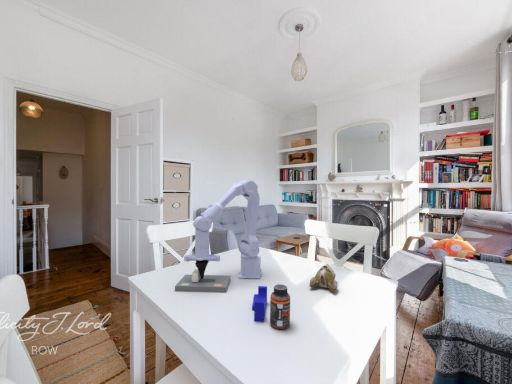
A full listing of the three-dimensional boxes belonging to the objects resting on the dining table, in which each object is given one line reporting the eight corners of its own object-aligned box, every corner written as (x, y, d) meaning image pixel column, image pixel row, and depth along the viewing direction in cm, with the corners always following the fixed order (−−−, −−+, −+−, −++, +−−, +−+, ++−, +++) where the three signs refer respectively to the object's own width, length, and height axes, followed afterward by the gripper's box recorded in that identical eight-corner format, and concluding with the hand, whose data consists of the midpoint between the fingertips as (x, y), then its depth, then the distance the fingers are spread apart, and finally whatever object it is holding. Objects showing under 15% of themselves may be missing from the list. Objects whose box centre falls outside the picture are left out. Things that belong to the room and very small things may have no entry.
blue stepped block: (254, 302, 84) (254, 285, 83) (266, 303, 83) (267, 286, 83) (249, 321, 72) (249, 302, 72) (263, 322, 71) (264, 303, 71)
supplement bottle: (284, 333, 66) (285, 293, 66) (266, 326, 69) (266, 288, 69) (293, 322, 71) (293, 285, 71) (275, 316, 74) (275, 281, 74)
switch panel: (230, 280, 103) (230, 275, 103) (225, 292, 91) (226, 287, 91) (185, 279, 103) (185, 274, 103) (175, 291, 91) (175, 285, 91)
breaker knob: (201, 277, 100) (201, 269, 99) (197, 282, 95) (197, 273, 94) (195, 277, 100) (195, 269, 100) (191, 282, 95) (191, 273, 95)
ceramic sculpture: (340, 261, 101) (336, 275, 88) (340, 281, 102) (336, 297, 89) (315, 258, 106) (307, 271, 93) (315, 277, 107) (308, 292, 93)
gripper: (181, 247, 93) (181, 281, 93) (217, 248, 92) (217, 282, 93) (187, 243, 100) (187, 274, 100) (221, 243, 99) (220, 275, 100)
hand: (202, 278), depth 97 cm, fingers closed
